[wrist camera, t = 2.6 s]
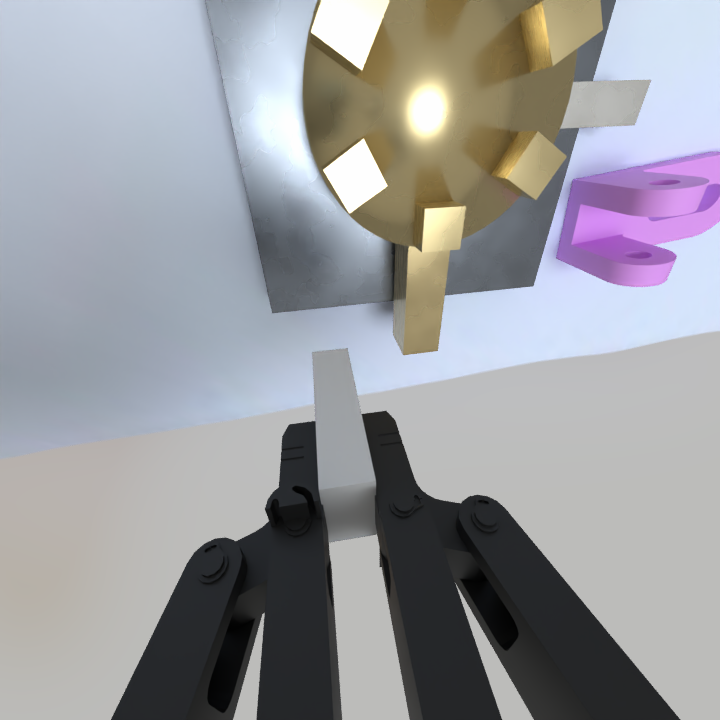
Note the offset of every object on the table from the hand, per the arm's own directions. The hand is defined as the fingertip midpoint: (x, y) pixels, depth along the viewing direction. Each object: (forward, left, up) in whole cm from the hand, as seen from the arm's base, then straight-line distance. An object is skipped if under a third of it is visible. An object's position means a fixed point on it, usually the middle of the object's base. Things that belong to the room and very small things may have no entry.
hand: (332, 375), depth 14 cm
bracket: (+25, +4, -12) cm, 28 cm away
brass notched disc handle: (+6, +6, -9) cm, 12 cm away
